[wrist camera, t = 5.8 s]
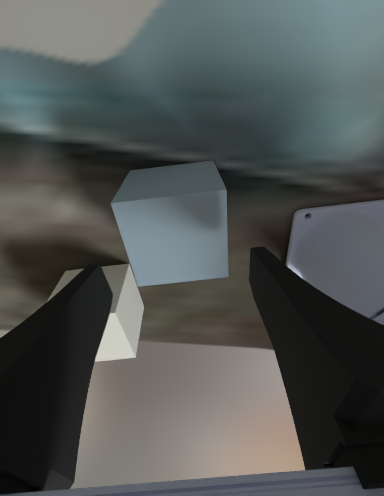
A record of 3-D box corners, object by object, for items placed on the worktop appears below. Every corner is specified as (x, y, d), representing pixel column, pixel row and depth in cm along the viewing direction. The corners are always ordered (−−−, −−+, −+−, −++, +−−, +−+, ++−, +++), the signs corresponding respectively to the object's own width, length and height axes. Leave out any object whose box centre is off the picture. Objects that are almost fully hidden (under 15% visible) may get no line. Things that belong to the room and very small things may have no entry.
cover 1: (129, 263, 21) (115, 312, 16) (143, 306, 24) (135, 357, 20) (65, 270, 21) (34, 321, 16) (89, 312, 24) (68, 364, 20)
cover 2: (213, 160, 16) (226, 189, 11) (216, 232, 19) (228, 276, 15) (129, 170, 16) (110, 203, 12) (147, 240, 19) (138, 286, 15)
